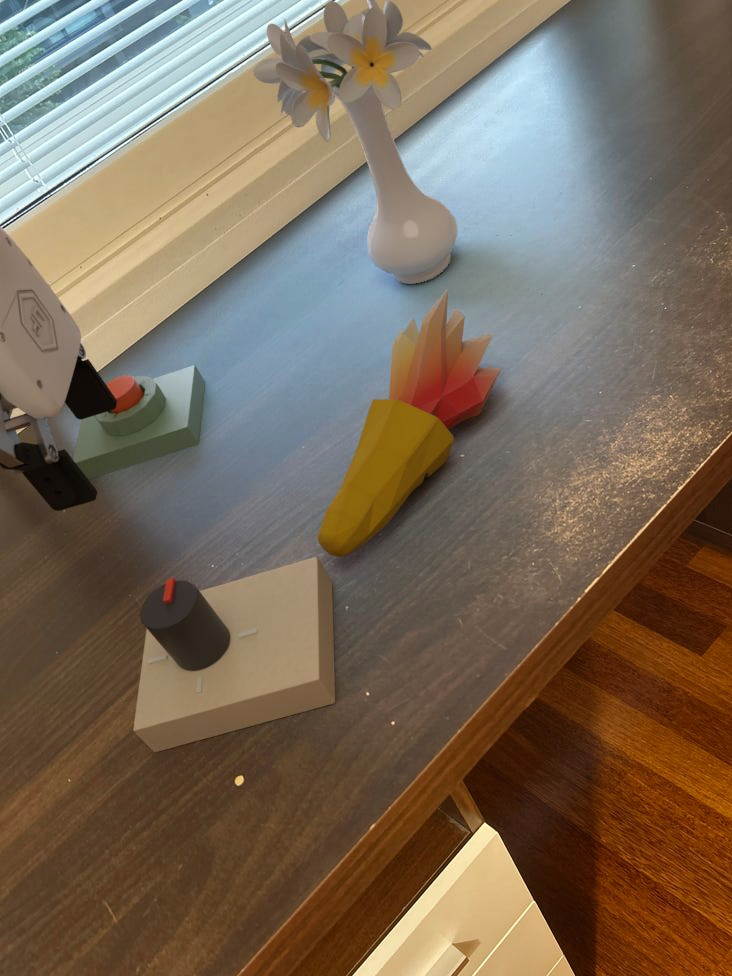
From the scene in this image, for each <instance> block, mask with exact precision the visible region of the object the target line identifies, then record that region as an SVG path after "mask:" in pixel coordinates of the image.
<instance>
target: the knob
mask: <svg viewBox="0 0 732 976" xmlns="http://www.w3.org/2000/svg"><path fill="white" fill-rule="evenodd" d="M200 591H201V590H200V589H199V588H198V587H197V586H196V585H195V584H194V583H193V582H191V581H189V580H185V579H177V580H176V579H175V577H170V578H168V579H166V581H165V583H164V584H162V585H160V586H159V587H157V588H156V589H154V590H153V591H152V592H150V594H149V595H148V596H147V597H146V599H145V600H144V602H143V604H142V605H141V607H140V612H139V618H140V621H141V624H142V625H143V626H144V627H145V628H146V630H147V629H148V630H149V632H150V633H151V634H152V635H153V636H154V637H155V639H156V640H157V641H158V642H159V643H160V645H161V646H162V647H163V648H164V649H165V650H166V652H167V653H168V654H169V655H170V656H171V657H172V659H173V660H174V661H175V662H176V663H177V664H178V666H179V667H181V668H183V669H185V670H189V671H195V670H201V669H204V668H206V667H208V666H210V665H212V664H213V663H215V662H216V661H217V660H218V659H220V658H221V657H222V655H223V654H224V653H225V651H226V650H227V648H228V646H229V643H230V632H229V630H228V628H227V627H226V626H225V624H224V623H223V622H222V620H221V619H220V618H219V616H218V615H217V614H216V612H215V611H214V610H213V608H212V607H211V606H210V604H209V603H208V602H207V600H206V599H205V598H204V596H203V595H202V594H201V592H200Z"/></svg>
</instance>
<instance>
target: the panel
mask: <svg viewBox="0 0 732 976" xmlns="http://www.w3.org/2000/svg"><path fill="white" fill-rule="evenodd" d="M199 591H200V592H201V594H202V595H203V596H204V598H205V599H206V600H207V602H208V603H209V604H210V606H211V607H212V608H213V610H214V611H215V612H216V614H217V615H218V616H219V618H220V619H221V620H222V622H223V623H224V624H225V626H226V627H227V628H228V630H229V632H230V643H229V646H228V648H227V650H226V651H225V653H224V654H223V655H222V657H221V658H220V659H218V660H217V661H216V662H215V663H213V664H212V665H210V666H208V667H206V668H204V669H201V670H195V671H189V670H185V669H183V668H181V667H179V666H178V664H177V663H176V662H175V661H174V660H173V659H172V657H171V656H170V655H169V654H168V653H167V652H166V650H165V649H164V648H163V647H162V646H161V645H160V643H159V642H158V641H157V640H156V639H155V637H154V636H153V635H152V634H151V633H150V632H149V630H148V629H147V628H146V631H145V637H144V646H143V654H142V660H141V661H142V662H141V669H140V676H139V684H138V691H137V692H138V693H137V698H136V706H135V713H134V722H133V729H132V730H133V732H134V733H135V734H136V735H137V737H139V738H140V739H141V741H143V742H144V743H145V745H146V746H148V747H149V748H150V750H152V751H153V752H154V753H158V752H162V751H165V750H169V749H174V748H177V747H180V746H184V745H187V744H192V743H196V742H199V741H202V740H205V739H209V738H213V737H217V736H220V735H224V734H229V733H231V732H235V731H239V730H242V729H246V728H250V727H253V726H257V725H261V724H264V723H268V722H272V721H276V720H279V719H282V718H287V717H290V716H294V715H297V714H301V713H305V712H308V711H311V710H312V711H313V710H316V709H319V708H322V707H323V708H324V707H326V706H330V705H334V704H336V679H335V677H336V675H335V673H336V672H335V639H334V638H335V637H334V601H333V599H334V598H333V597H334V596H333V581H332V579H331V577H330V575H329V574H328V572H327V570H326V568H325V567H324V566H323V563H322V562H321V560H320V559H319V557H318V556H313V557H310V558H307V559H303V560H300V561H297V562H293V563H290V564H287V565H283V566H280V567H276V568H273V569H269V570H267V571H263V572H260V573H256V574H253V575H249V576H246V577H243V578H240V579H236V580H233V581H229V582H226V583H222V584H219V585H216V586H212V587H209V588H206V589H202V590H199Z"/></svg>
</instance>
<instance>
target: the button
mask: <svg viewBox="0 0 732 976" xmlns="http://www.w3.org/2000/svg"><path fill="white" fill-rule="evenodd" d="M133 377H134V376H132V375H129V374H128V375H120V376H118V377H115V378H113V379H112V380H110V381H109V382H107V383H105V384H106V385H107V387H108V388H109V390H110V391H111V393H112V394H113V395H114V397H115V398H116V400H117V405H116V408H115V409H114V410H111V411H110V412H111V413H114V414H117V413H120V412H124V411H127V410H129V409H130V408H132V407H133V406H135V405H136V404H138V402H139V401H140V400H141V399H142V398H143V396H144V393H143V391H142V390H141V388H140V387H139V385H138V384H137V382H136V381H135V379H134V378H133Z"/></svg>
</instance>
